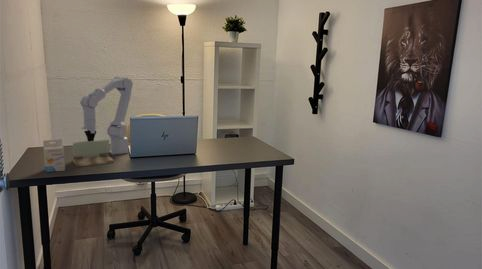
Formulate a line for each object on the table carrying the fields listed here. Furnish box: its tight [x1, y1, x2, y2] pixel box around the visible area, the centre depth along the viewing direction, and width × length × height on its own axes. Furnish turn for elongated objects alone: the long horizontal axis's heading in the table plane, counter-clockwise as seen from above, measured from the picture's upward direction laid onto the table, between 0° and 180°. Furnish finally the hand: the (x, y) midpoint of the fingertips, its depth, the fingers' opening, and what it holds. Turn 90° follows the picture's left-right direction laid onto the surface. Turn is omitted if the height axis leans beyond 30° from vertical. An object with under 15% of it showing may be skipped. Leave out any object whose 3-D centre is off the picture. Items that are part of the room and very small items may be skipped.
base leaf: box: [72, 153, 114, 167], centre depth 191 cm, size 18×11×3 cm, turn 123°
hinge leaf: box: [72, 138, 110, 158], centre depth 194 cm, size 18×10×2 cm
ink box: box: [43, 138, 66, 173], centre depth 174 cm, size 8×5×15 cm, turn 123°
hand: (90, 143), depth 193 cm, fingers closed
